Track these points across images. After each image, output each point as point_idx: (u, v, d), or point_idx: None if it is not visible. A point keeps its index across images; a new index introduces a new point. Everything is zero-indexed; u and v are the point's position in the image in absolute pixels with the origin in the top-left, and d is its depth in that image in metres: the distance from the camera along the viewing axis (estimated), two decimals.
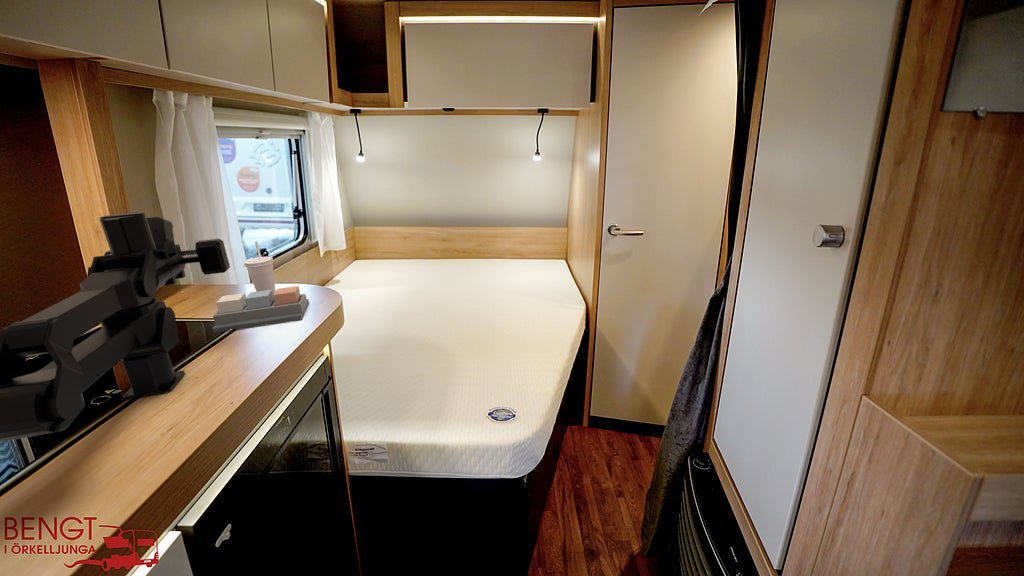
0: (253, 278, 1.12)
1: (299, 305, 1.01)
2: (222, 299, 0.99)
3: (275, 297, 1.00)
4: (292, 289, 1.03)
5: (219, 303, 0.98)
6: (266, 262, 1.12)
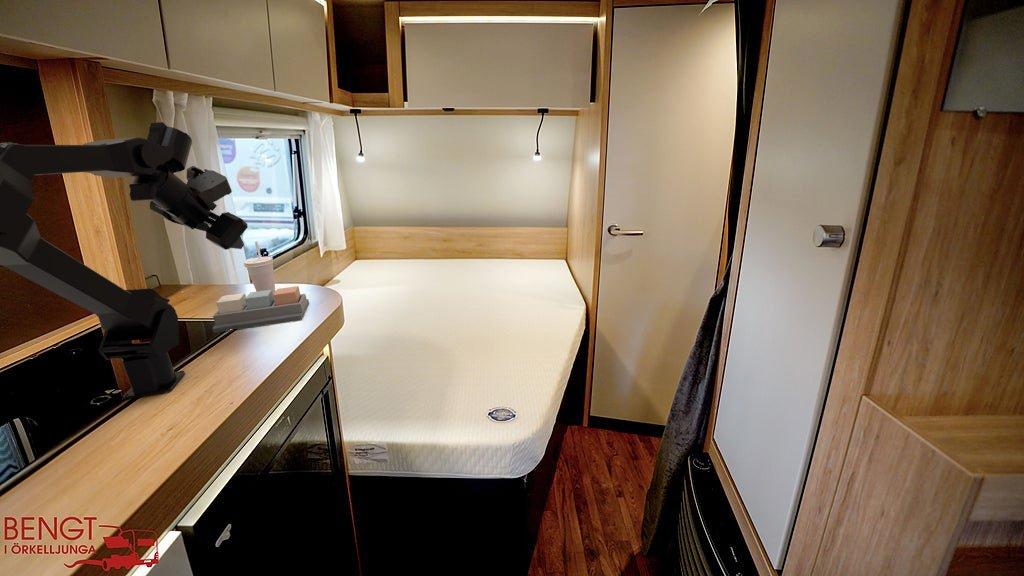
0: (253, 278, 1.12)
1: (299, 305, 1.01)
2: (222, 299, 0.99)
3: (275, 297, 1.00)
4: (292, 289, 1.03)
5: (219, 303, 0.98)
6: (266, 262, 1.12)
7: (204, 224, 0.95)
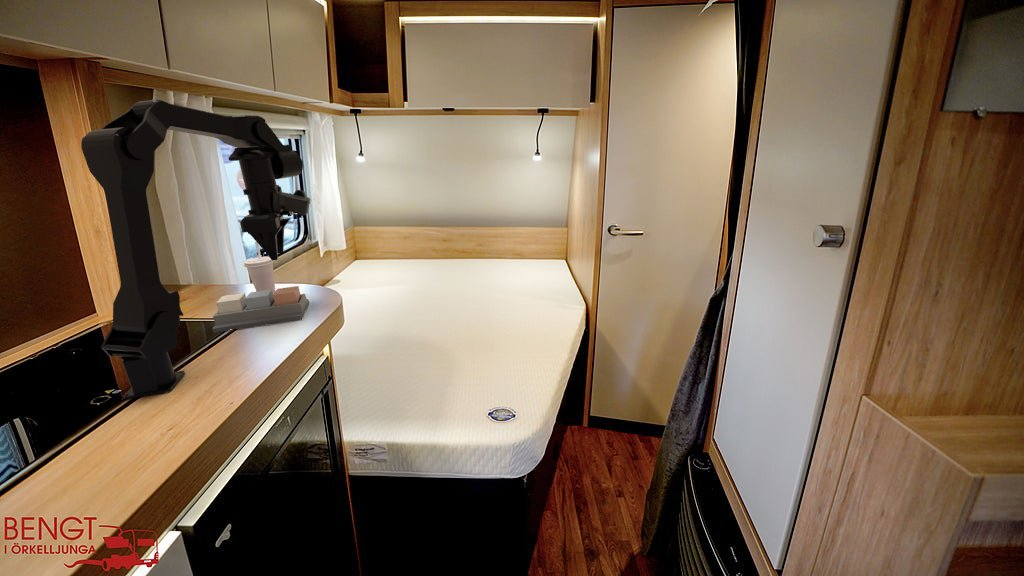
0: (253, 278, 1.12)
1: (299, 305, 1.01)
2: (222, 299, 0.99)
3: (275, 297, 1.00)
4: (292, 289, 1.03)
5: (219, 303, 0.98)
6: (266, 262, 1.12)
7: (280, 245, 1.02)
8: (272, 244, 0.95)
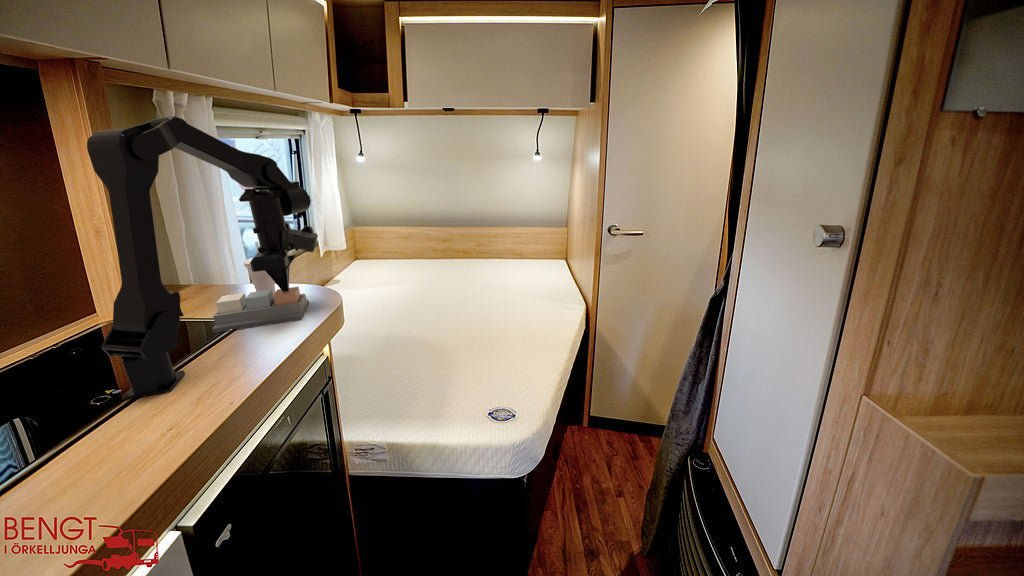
0: (253, 278, 1.12)
1: (299, 305, 1.01)
2: (222, 299, 0.99)
3: (275, 298, 1.00)
4: (292, 290, 1.03)
5: (219, 303, 0.98)
6: None
7: None
8: (283, 277, 1.00)
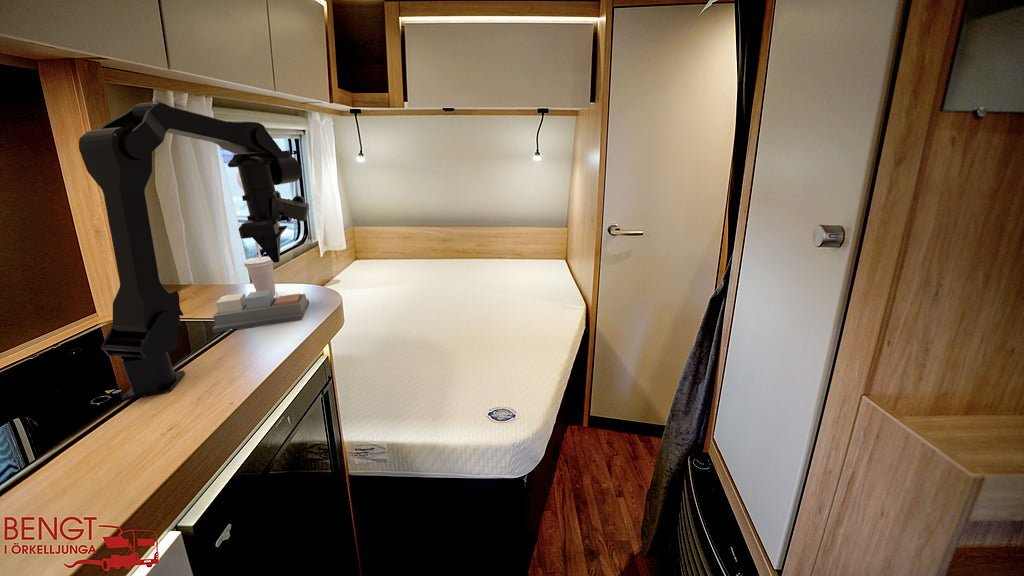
0: (253, 278, 1.12)
1: (299, 305, 1.01)
2: (222, 299, 0.99)
3: (277, 305, 1.01)
4: (294, 297, 1.03)
5: (219, 303, 0.98)
6: (266, 262, 1.12)
7: None
8: (274, 247, 0.98)
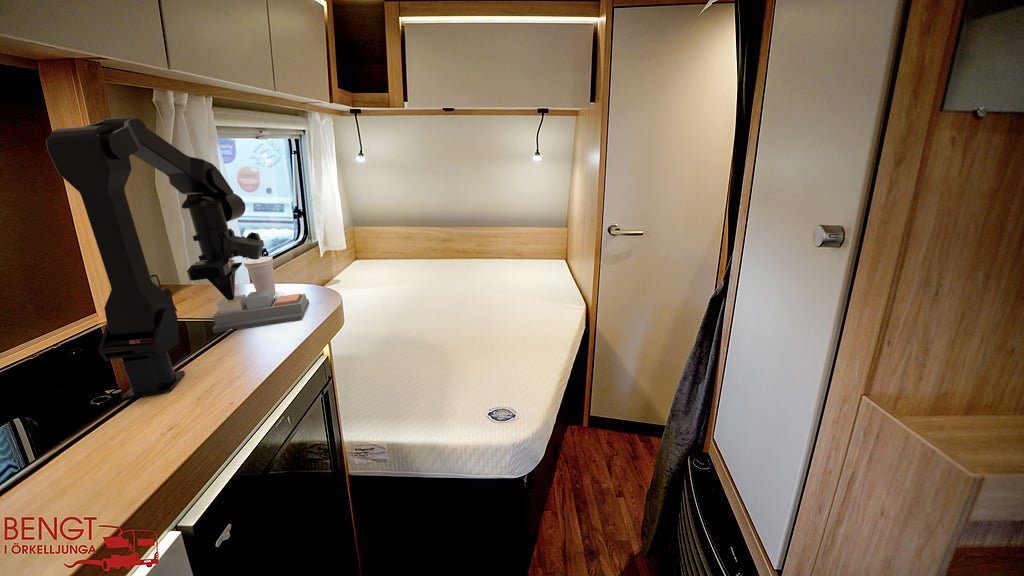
0: (253, 278, 1.12)
1: (299, 305, 1.01)
2: (222, 301, 0.99)
3: (277, 305, 1.01)
4: (294, 297, 1.03)
5: (219, 305, 0.98)
6: (266, 262, 1.12)
7: None
8: (227, 285, 0.98)
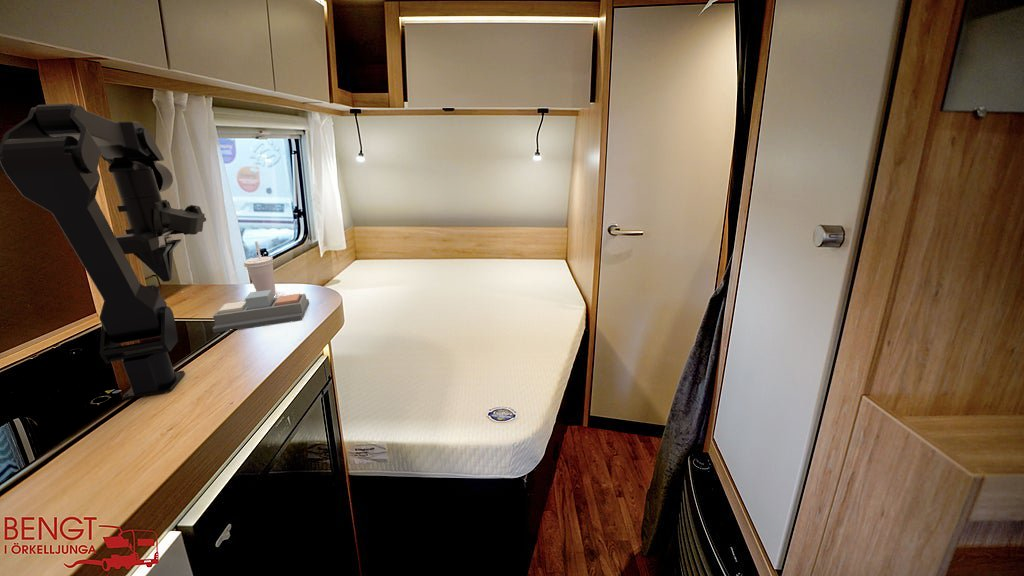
0: (253, 278, 1.12)
1: (299, 305, 1.01)
2: (224, 307, 1.00)
3: (277, 305, 1.01)
4: (294, 297, 1.03)
5: (221, 311, 0.98)
6: (266, 262, 1.12)
7: None
8: (161, 264, 0.86)
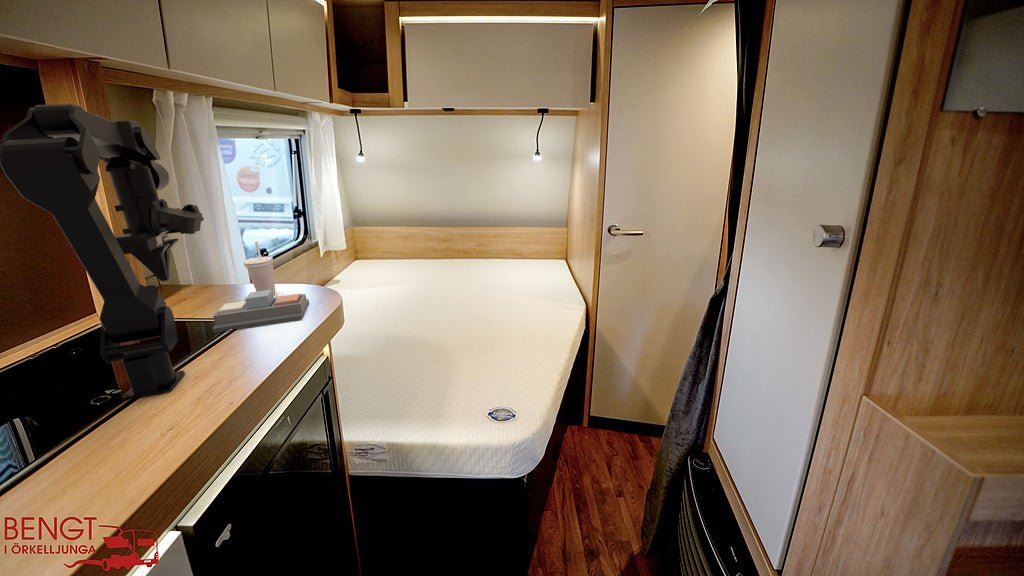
0: (253, 278, 1.12)
1: (299, 305, 1.01)
2: (224, 307, 1.00)
3: (277, 305, 1.01)
4: (294, 297, 1.03)
5: (221, 311, 0.98)
6: (266, 262, 1.12)
7: None
8: (159, 263, 0.85)
